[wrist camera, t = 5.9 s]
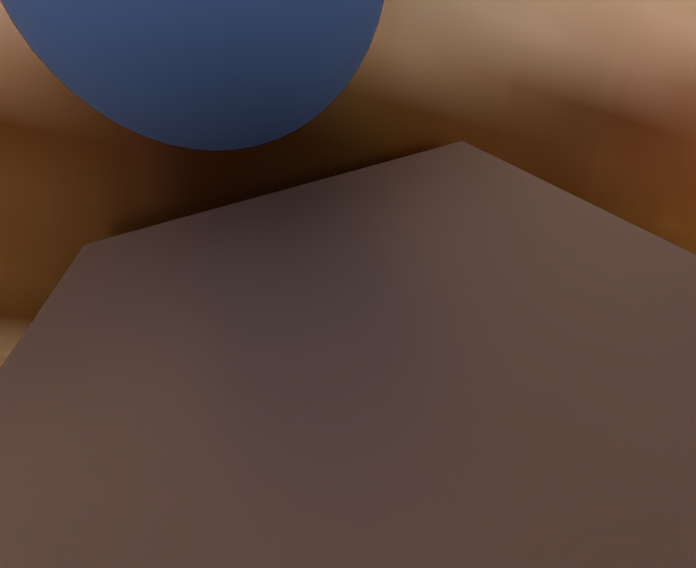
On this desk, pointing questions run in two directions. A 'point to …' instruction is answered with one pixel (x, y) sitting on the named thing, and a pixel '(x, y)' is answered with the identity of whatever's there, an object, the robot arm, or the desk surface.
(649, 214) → the desk surface
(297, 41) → the ball
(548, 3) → the desk surface
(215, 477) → the matte gray cube
